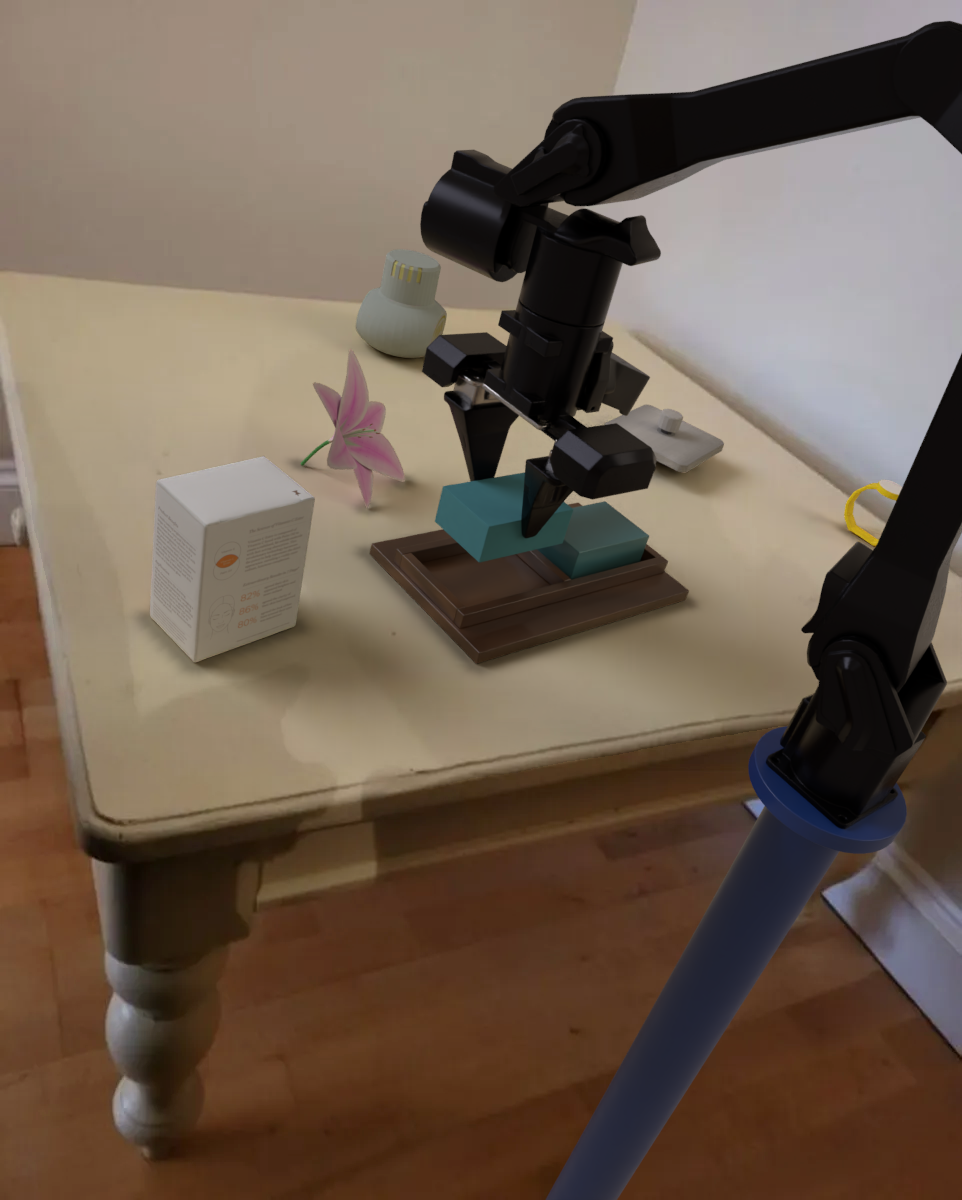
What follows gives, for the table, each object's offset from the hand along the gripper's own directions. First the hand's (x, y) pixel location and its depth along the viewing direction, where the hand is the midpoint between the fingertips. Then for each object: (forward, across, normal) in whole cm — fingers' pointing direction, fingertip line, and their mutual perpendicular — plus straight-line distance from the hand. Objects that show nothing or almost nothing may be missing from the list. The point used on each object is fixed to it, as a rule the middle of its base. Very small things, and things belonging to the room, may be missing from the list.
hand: (504, 515), depth 74 cm
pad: (+2, 0, 0) cm, 2 cm away
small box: (+7, +3, +20) cm, 21 cm away
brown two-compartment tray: (+7, 0, -5) cm, 9 cm away
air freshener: (+7, +41, -19) cm, 46 cm away
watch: (+7, -6, -44) cm, 45 cm away
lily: (+7, +17, +2) cm, 19 cm away
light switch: (+7, +13, -33) cm, 36 cm away
